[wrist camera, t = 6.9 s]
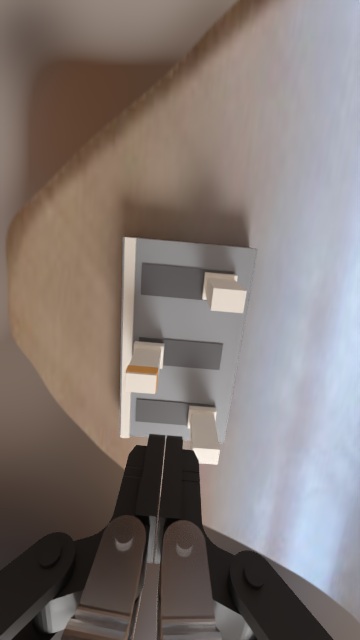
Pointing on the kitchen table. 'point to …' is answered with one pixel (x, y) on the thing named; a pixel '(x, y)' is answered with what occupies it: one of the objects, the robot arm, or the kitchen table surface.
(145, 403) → the breaker panel
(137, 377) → the breaker toggle
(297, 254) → the kitchen table surface
